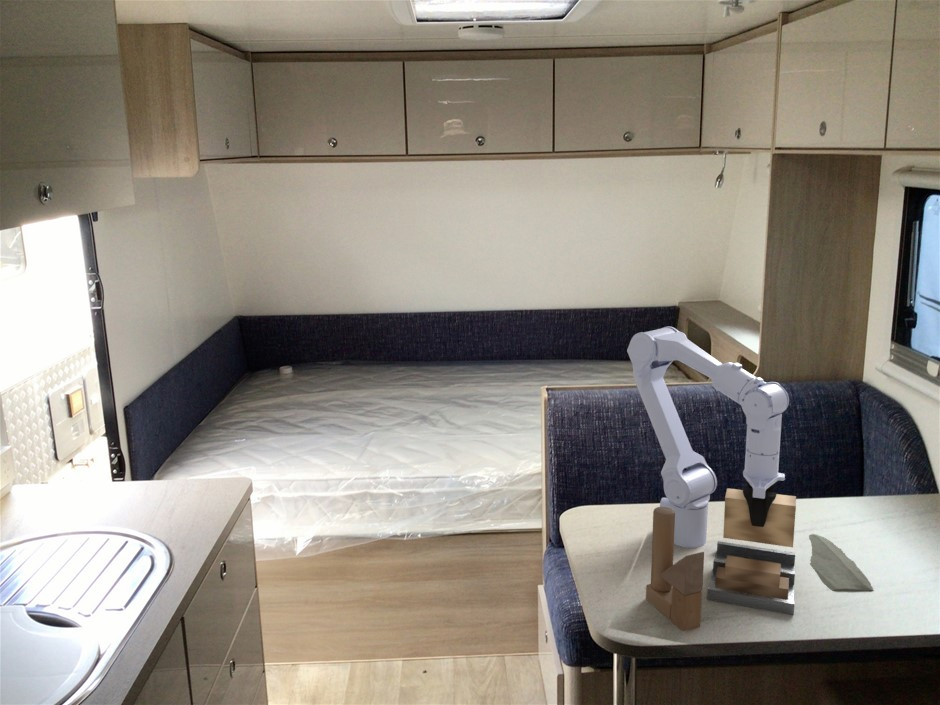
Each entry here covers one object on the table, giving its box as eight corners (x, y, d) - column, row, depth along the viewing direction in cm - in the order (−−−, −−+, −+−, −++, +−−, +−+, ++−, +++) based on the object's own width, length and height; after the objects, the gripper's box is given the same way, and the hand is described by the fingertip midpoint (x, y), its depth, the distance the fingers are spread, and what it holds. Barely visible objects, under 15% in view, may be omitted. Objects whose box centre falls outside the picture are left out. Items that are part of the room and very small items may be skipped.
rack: (706, 603, 138) (707, 589, 137) (717, 554, 155) (717, 541, 154) (793, 619, 132) (794, 604, 132) (794, 566, 149) (795, 552, 149)
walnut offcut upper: (724, 578, 139) (725, 565, 139) (726, 568, 143) (727, 555, 142) (779, 587, 136) (780, 574, 135) (779, 576, 140) (780, 563, 139)
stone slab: (826, 604, 140) (883, 596, 139) (825, 590, 139) (882, 582, 139) (778, 546, 161) (827, 539, 161) (777, 534, 161) (826, 526, 160)
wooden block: (682, 635, 129) (687, 534, 124) (644, 603, 138) (648, 507, 134) (701, 630, 130) (706, 529, 126) (662, 598, 140) (666, 504, 135)
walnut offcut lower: (714, 589, 140) (715, 577, 140) (717, 579, 144) (717, 566, 143) (787, 602, 136) (788, 589, 135) (787, 590, 140) (788, 578, 139)
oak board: (723, 537, 147) (725, 497, 145) (725, 527, 151) (727, 488, 149) (793, 547, 142) (795, 506, 140) (793, 536, 146) (796, 496, 144)
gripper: (785, 466, 135) (780, 540, 138) (787, 439, 148) (782, 507, 151) (741, 462, 137) (738, 534, 140) (747, 435, 150) (743, 502, 153)
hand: (758, 519), depth 146 cm, fingers closed on oak board, 4 cm apart
